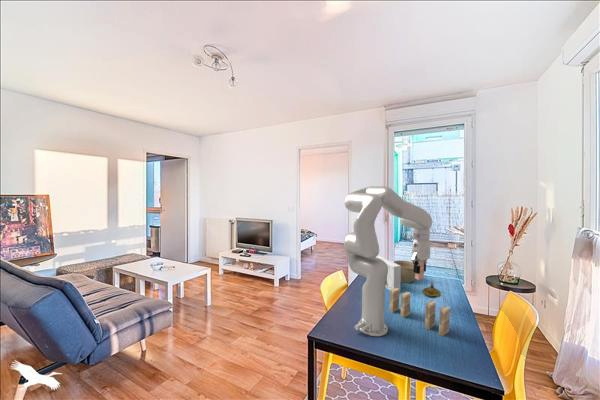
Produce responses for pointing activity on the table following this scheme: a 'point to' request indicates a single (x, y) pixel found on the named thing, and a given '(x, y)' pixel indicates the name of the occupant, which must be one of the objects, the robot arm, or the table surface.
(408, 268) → the planter bowl
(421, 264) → the tile
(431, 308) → the tile
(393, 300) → the head tile
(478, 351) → the table surface
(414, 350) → the table surface
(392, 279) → the skincare box
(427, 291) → the seal
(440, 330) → the tile
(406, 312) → the tile
